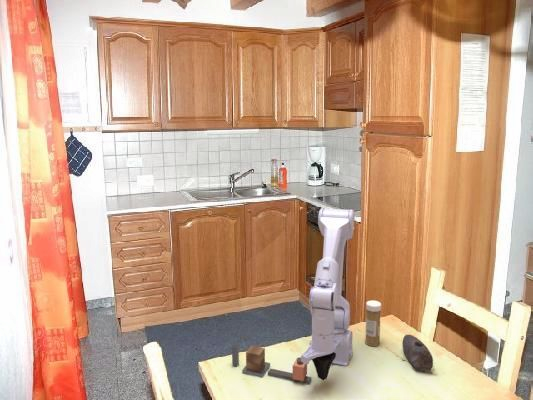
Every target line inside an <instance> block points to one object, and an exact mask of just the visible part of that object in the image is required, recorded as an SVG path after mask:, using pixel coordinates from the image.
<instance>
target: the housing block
mask: <svg viewBox="0 0 533 400" xmlns="http://www.w3.org/2000/svg"><path fill="white" fill-rule="evenodd" d="M265 352H266V348H265V347H262V346H257V345H251V346H250V347H249V348H248V349H247V350H246V352H245V366H246V369H250V370H255V371H259V372H260V370H261V369H262V367H263V366H264V365H265V362H266V353H265Z"/></svg>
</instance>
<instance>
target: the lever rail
mask: <svg viewBox="0 0 533 400" xmlns="http://www.w3.org/2000/svg"><path fill="white" fill-rule="evenodd" d="M267 376H269V377H274V378H277V379H281V380H287V381H292V382H295V383H296V382H297V383H300V384H306V385H310V384H311V382H312V381H313V380H312V379H313V378H312V376H308V375H306V377H305V379H304V381H300V380H295V379H293V372H290V371H284V370H279V369H275V368H271V367H269V369H268V370H267Z"/></svg>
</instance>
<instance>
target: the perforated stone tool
mask: <svg viewBox="0 0 533 400" xmlns="http://www.w3.org/2000/svg"><path fill="white" fill-rule="evenodd" d="M402 349H403V352H404V354H405V356H406V358H407V359H408V361H409V363H410V365H411V366H413V367H414V368H415V369H416V370H417V371H424V372H425V371H426V372H428V371H430V370H432V368H433V365H434V357H433V355H432V353H431V351H430V350H429V348H428V347H427V346H426V345H425V344H424V342H422V340H420V339H419V338H417V337H416V336H414V335H413V334H405V335H404V337H403V338H402Z"/></svg>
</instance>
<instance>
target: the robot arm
mask: <svg viewBox="0 0 533 400" xmlns="http://www.w3.org/2000/svg"><path fill="white" fill-rule="evenodd" d="M317 219H318V220H317V225H318V228H319V231H320V233H321V236H322V237H323V248H322V249H323V251H322V259H320V260H319V261H317V265H316V271H315V277H314V284H313V286H312V287H310V292H309V301H308V302H309V308H310V315H311V340H310V341H308V342H309V343H308V344H309V347H308V348H307V349H306V350H305V352H303V353H302V354H300V355H301V356H300V357H301V362H303V363H304V364H306V365H307V366H308V365H309V364H310V361H311V362H312V363H313V365H314V368H315V371H316V374H317V375H316V376H317V378H318V379H319V380H322V381H325V380H327V378H328V375H329V372H330V368H331V366H332V365H333V364H335V365H341V366H345V367H346V366H348V365H349V363H350V360H351V358H352V355H353V331H352V330H349V328H350V322H351V305H350V302H349V301H348V300H347V299H346V298H345V297H343V296H342V287H343V273H344V258H345V246H346V243H347V240H350V239H352V238H353V235H354V231H355V230H354V229H355V211H354V210H353V209H341V208H324V207H321V208H320V210H319V211H318V217H317Z"/></svg>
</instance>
